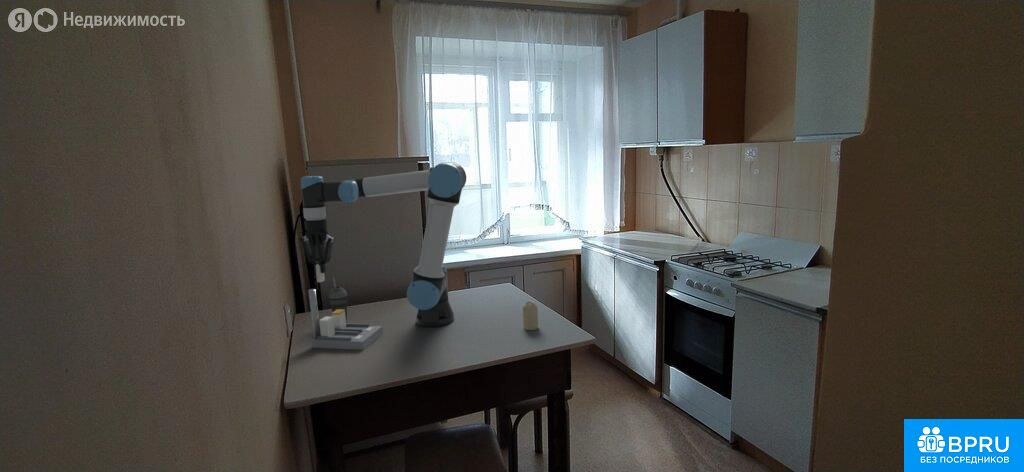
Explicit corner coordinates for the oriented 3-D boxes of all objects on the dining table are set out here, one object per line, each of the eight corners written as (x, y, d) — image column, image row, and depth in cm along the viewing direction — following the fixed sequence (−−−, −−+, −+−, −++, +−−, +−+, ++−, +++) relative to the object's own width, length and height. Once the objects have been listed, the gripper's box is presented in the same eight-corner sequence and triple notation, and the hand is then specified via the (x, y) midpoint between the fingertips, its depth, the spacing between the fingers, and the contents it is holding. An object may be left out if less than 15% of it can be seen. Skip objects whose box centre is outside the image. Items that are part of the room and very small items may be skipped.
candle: (541, 327, 182) (540, 302, 180) (531, 331, 178) (530, 305, 176) (530, 324, 185) (529, 299, 184) (520, 328, 181) (519, 303, 180)
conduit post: (322, 336, 174) (316, 288, 170) (318, 339, 171) (312, 290, 168) (316, 336, 174) (310, 288, 171) (312, 338, 172) (306, 290, 169)
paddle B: (335, 334, 175) (333, 316, 174) (328, 338, 171) (326, 320, 170) (327, 334, 176) (325, 316, 175) (321, 338, 172) (319, 320, 171)
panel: (382, 333, 182) (381, 323, 181) (363, 349, 168) (362, 339, 167) (335, 332, 186) (334, 322, 185) (312, 347, 172) (311, 337, 171)
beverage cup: (344, 327, 190) (339, 279, 187) (327, 327, 192) (322, 279, 188) (353, 321, 197) (348, 274, 194) (337, 320, 199) (332, 274, 195)
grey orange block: (346, 326, 183) (344, 309, 182) (340, 330, 179) (338, 312, 178) (339, 326, 183) (337, 309, 182) (333, 330, 180) (331, 312, 178)
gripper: (337, 217, 177) (342, 279, 181) (305, 217, 179) (311, 278, 183) (325, 220, 170) (331, 284, 174) (292, 220, 172) (299, 283, 176)
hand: (321, 281), depth 178 cm, fingers closed
